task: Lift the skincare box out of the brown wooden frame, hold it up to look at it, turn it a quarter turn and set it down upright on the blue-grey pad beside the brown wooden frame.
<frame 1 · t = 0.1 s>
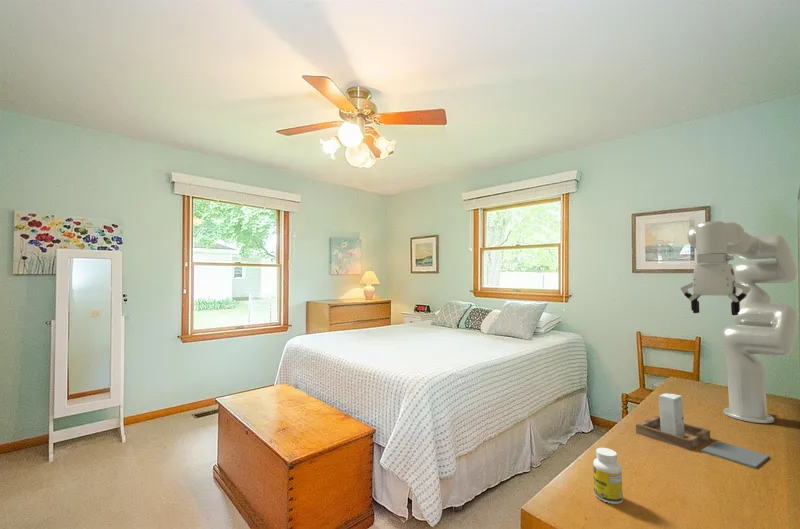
hand: (715, 313, 115), 37 cm above the table, tool pointing down, fingers open, 9 cm apart
pad: (734, 454, 98), on the table
skincare box: (672, 436, 111), resting in brown wooden frame
brown wooden frame: (672, 435, 111), on the table
supplement bottle: (608, 498, 79), on the table
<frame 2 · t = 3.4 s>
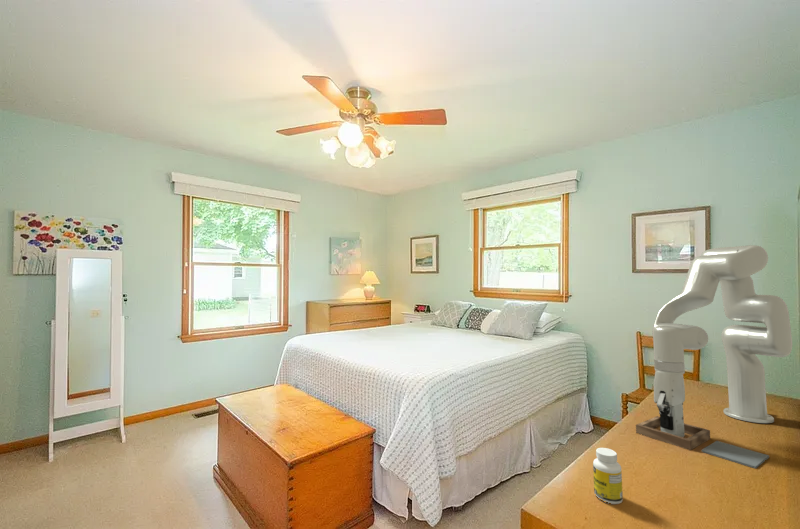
hand: (671, 425, 111), 3 cm above the table, tool pointing down, fingers closed on skincare box, 6 cm apart
skincare box: (672, 436, 111), resting in brown wooden frame, touching gripper
everything else where it was.
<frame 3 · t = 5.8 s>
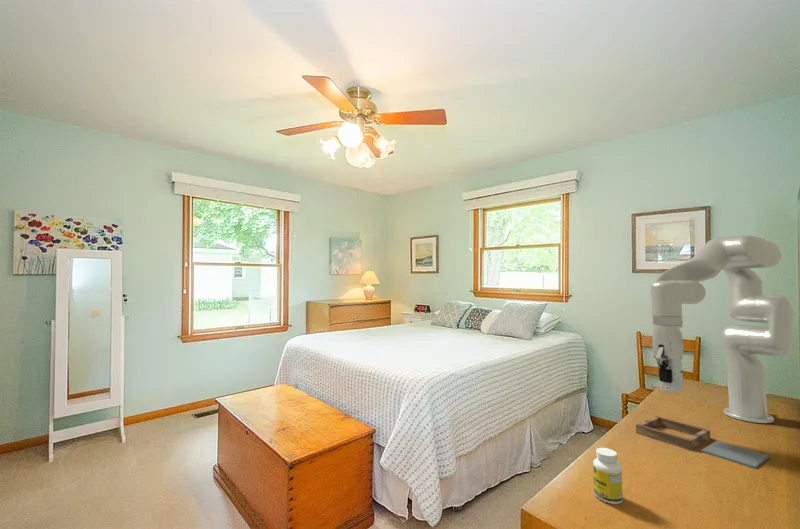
hand: (670, 379, 112), 17 cm above the table, tool pointing down, fingers closed on skincare box, 6 cm apart
skincare box: (671, 390, 112), point 14 cm above the table, touching gripper
everything else where it was.
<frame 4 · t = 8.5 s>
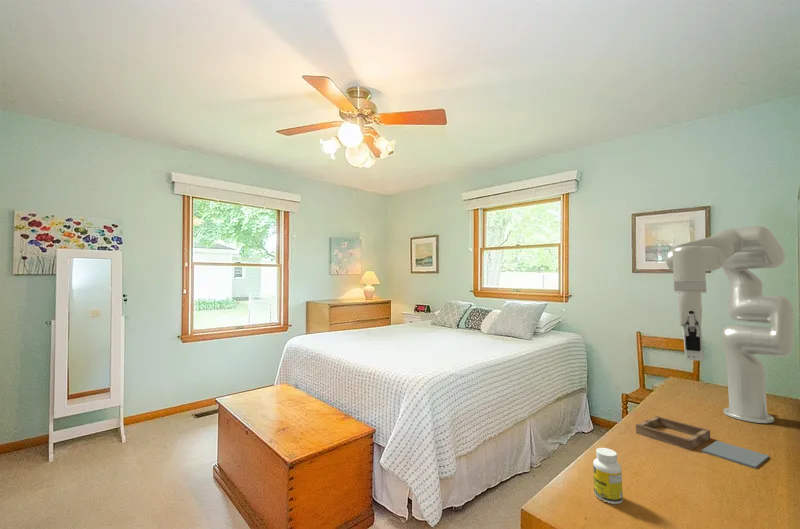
hand: (693, 348, 107), 27 cm above the table, tool pointing down, fingers closed on skincare box, 6 cm apart
skincare box: (693, 359, 107), point 24 cm above the table, touching gripper
everything else where it was.
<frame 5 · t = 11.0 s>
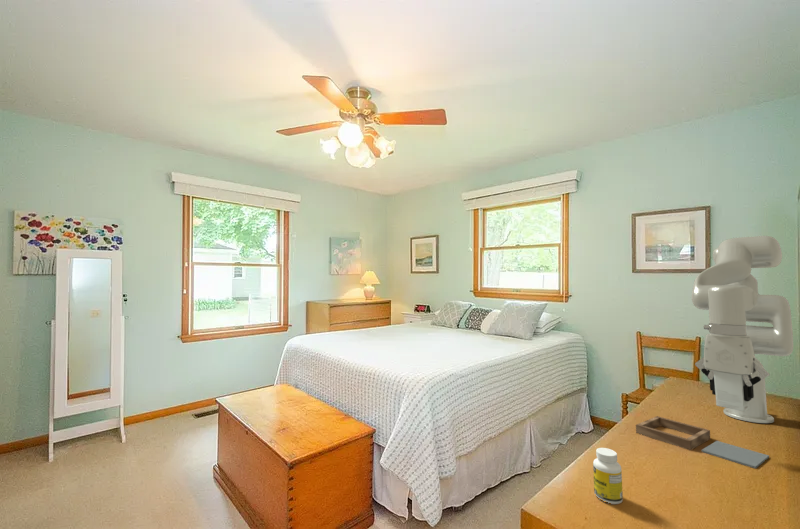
hand: (731, 396, 99), 16 cm above the table, tool pointing down, fingers closed on skincare box, 6 cm apart
skincare box: (731, 408, 99), point 12 cm above the table, touching gripper
everything else where it was.
when the fingers open (5 cm above the table, at t = 13.2 s): skincare box drops 1 cm, resting on pad.
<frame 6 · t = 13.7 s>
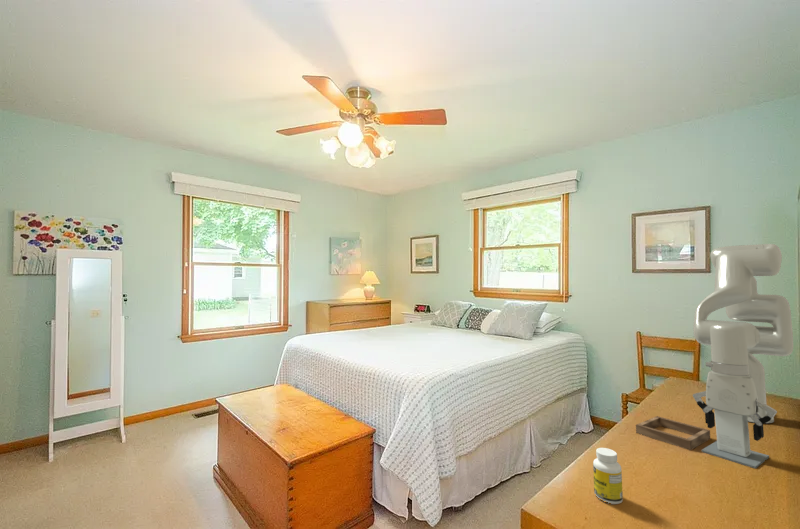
hand: (733, 433, 99), 6 cm above the table, tool pointing down, fingers open, 9 cm apart
skincare box: (733, 452, 99), resting on pad
everything else where it was.
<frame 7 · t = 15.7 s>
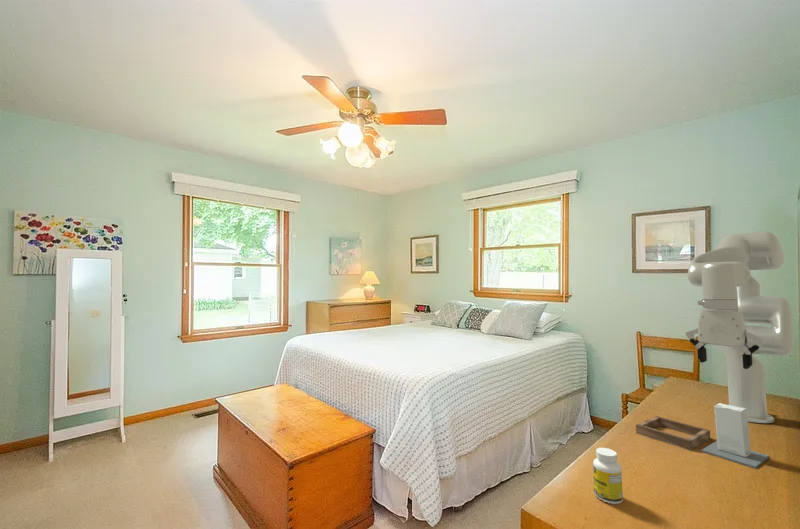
hand: (724, 364, 104), 23 cm above the table, tool pointing down, fingers open, 9 cm apart
nothing on the table moved.
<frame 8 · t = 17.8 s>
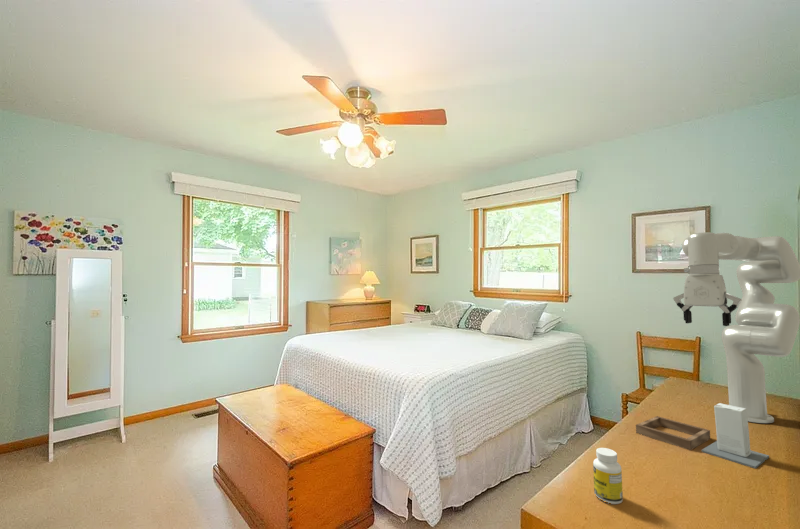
hand: (706, 324, 116), 33 cm above the table, tool pointing down, fingers open, 9 cm apart
nothing on the table moved.
at the end: skincare box inside the target area on the pad (0.4 cm from its centre), point 0.3 cm above the pad's base; skincare box tilted 0°; the gripper is holding nothing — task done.
